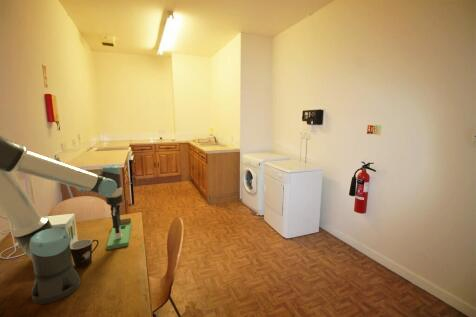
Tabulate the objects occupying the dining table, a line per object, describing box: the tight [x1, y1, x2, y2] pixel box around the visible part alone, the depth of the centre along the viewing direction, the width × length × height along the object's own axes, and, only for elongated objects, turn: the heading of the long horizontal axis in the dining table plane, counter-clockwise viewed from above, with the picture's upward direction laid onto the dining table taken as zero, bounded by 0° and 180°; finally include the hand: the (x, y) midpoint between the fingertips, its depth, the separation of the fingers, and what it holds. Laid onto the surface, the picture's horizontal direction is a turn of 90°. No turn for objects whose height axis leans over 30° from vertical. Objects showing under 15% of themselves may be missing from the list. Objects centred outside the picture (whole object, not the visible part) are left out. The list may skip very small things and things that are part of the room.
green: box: [106, 217, 132, 250], centre depth 134 cm, size 26×10×5 cm, turn 21°
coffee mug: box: [70, 238, 99, 269], centre depth 109 cm, size 12×9×10 cm
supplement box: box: [45, 213, 79, 245], centre depth 117 cm, size 13×13×18 cm
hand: (118, 237), depth 125 cm, fingers closed
